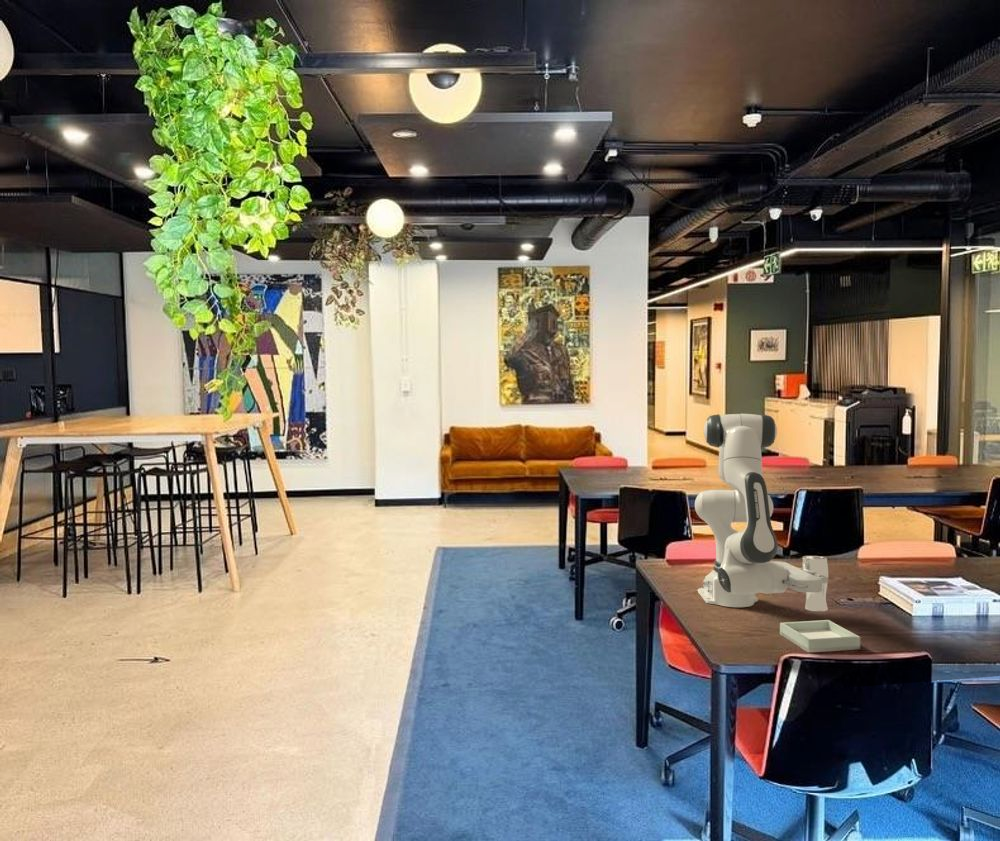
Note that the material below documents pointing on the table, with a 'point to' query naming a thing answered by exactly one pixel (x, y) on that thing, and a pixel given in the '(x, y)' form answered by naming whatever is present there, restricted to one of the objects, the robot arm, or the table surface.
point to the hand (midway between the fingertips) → (818, 575)
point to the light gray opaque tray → (819, 636)
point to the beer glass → (816, 568)
